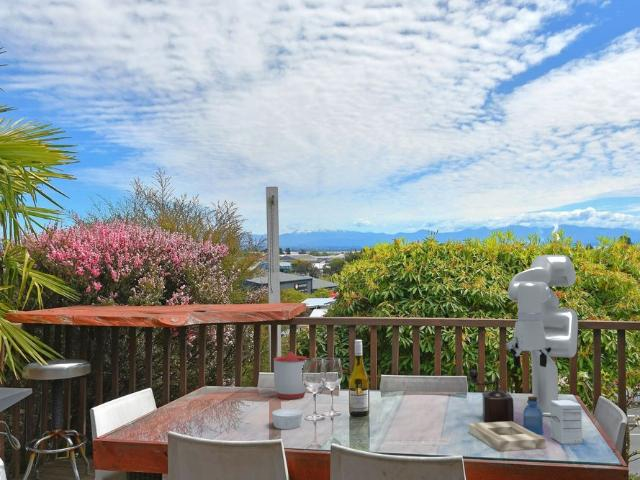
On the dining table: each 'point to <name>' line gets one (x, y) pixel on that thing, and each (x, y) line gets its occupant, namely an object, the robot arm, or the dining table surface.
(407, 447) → the dining table surface
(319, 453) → the dining table surface
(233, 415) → the dining table surface
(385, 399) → the dining table surface
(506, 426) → the hole board
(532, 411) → the perfume bottle
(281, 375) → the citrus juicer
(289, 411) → the ramekin
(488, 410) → the coffee grinder
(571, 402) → the supplement box
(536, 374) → the robot arm
